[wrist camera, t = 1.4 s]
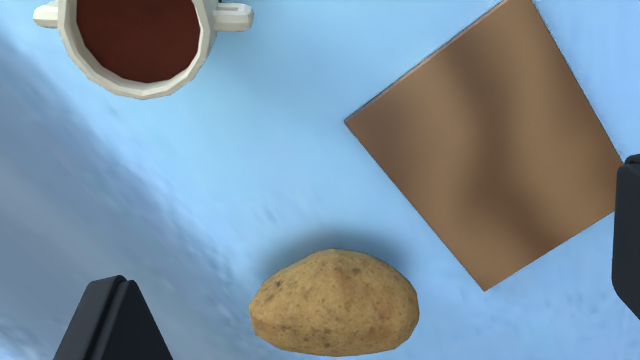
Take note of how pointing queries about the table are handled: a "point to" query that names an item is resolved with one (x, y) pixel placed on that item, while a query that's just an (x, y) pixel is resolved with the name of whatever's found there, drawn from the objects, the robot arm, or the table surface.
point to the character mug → (141, 39)
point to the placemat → (494, 144)
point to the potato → (335, 305)
